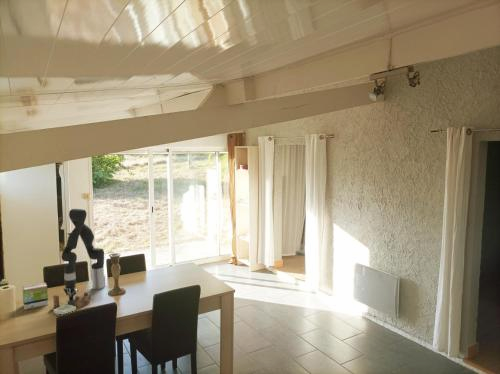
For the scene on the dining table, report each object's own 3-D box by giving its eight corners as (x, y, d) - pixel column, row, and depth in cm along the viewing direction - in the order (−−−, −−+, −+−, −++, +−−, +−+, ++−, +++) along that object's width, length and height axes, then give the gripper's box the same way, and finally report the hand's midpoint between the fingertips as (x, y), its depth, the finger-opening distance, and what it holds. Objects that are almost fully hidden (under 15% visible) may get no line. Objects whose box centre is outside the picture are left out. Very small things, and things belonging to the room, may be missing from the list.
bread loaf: (57, 306, 265) (56, 294, 264) (60, 306, 263) (60, 294, 263) (52, 308, 262) (52, 295, 261) (56, 308, 260) (55, 296, 259)
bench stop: (87, 301, 272) (86, 291, 272) (90, 302, 271) (89, 292, 270) (73, 307, 261) (73, 297, 261) (76, 308, 260) (76, 297, 259)
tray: (66, 307, 262) (65, 304, 261) (76, 310, 258) (75, 306, 257) (53, 313, 252) (53, 309, 252) (64, 315, 248) (63, 311, 248)
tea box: (24, 310, 258) (23, 290, 257) (23, 305, 266) (22, 286, 265) (48, 305, 267) (47, 285, 266) (46, 300, 275) (45, 281, 274)
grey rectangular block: (79, 301, 274) (78, 296, 274) (86, 302, 271) (85, 297, 271) (67, 306, 265) (67, 301, 264) (74, 308, 262) (74, 302, 262)
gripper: (80, 277, 270) (81, 300, 271) (67, 275, 275) (69, 297, 276) (72, 281, 263) (73, 304, 264) (59, 278, 268) (60, 301, 270)
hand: (71, 300), depth 270 cm, fingers closed
